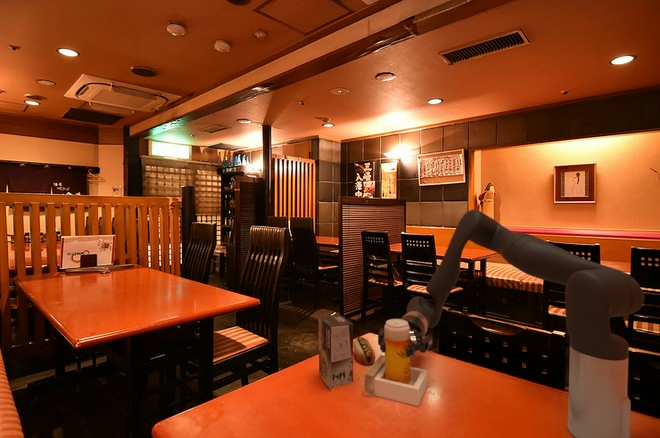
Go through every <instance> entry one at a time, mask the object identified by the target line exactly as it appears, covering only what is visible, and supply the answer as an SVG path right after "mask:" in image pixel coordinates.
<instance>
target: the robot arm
mask: <svg viewBox="0 0 660 438" xmlns="http://www.w3.org/2000/svg"><path fill="white" fill-rule="evenodd" d="M469 241H470V242H472V243H473V244H475V245H477V246H479V247H483V248H485V249H488V250H489V251H492V252H495V253H497V254H499V255H500V256H501V257H502V259H504V261H506V262H507V263H508V264H509V265H511V266H512V267H514V268H516V269H517V270H519V271H521V273H524V274H526V275H528V276H530V277H532V278H537V279H539V280H542V281H543V280H544V281H547V282H550V283H555V284H559V285H563V286H565V291H564V296H565V297H564V299H565V300H564V302H565V307H564V308H565V326H566V331H567V333H568V336H569V341H570V342H569V364H568V365H569V372H568V375H569V376H568V401H567V403H568V404H567V405H568V407H567V411H568V412H567V429H568V431H569V433H570V434H571V435H572V436H573V437H574V438H630V436H631V435H630V433H631V405H632V404H631V399H630V398H629V397H628V383H629V382H628V381H629V357H630V356H629V353H630V348H629V347H630V346H629V343H628V341H627V340H626V339H625V338H623V337H622V336H620V335H617V334H615V333H612V331H611V321H610V320H611V318H617V317H624V316H629V315H632V314H634V313H637V312H638V311H639V310H640V309H641V308H642V307H643V306H644V305H643V304H644V302H645V293H644V291H643V288H642V287H641V286H640V284H639V283H638V281H637V280H636V279H635V278H634V277H632V276H631V275H630V274H628V273H626V272H624V271H622V270H621V269H620V270H619V269H617V268H614V267H610V266H608V265H604V264H601V263H598V262H594V261H592V260H589V259H585V258H584V257H580V256H578V255H575V254H574V253H572V252H570V251H568V250H565V249H563V248H561V247H558V246H556V245H554V244H552V243H549V242H548V241H546V240H544V239H542V238H539V237H537V236H535V235H532V234H529V233H526V232H521V231H520V232H519V231H518V232H514V231H512V230H510V229H508V228H507V227H505V226H503V225H502V224H501V223H499V222H498V221H497V220H495V219H493V218H492V217H490V216H489V215H487V214H485V213H484V212H482V211H480V210H479V209H475V208H474V209H470V210H468V211H467V212H465V213H464V214H463V216H462V217H461V218H460V220H459V221H458V223H457V225H456V227H455V230H454V232H453V234H452V237H451V238H450V240H449V243H448V246H447V249H446V251H445V254H444V256H443V258H442V260H441V262H440V263H439V265H438V268H437V269H436V271H435V272H434V274H433V275H432V277H431V278H430V280H429V281H428V283H427V285H426V286H425V291H426V293H428V294H429V296H431V298H432V299H433V300H434V304H432V303H431V302H430V301H428V300H427V299H425V298H424V297H422V296H419V295H418V296H415V297H414V296H413V297H412V298H411V299H410V300H409V302H408V304H407V306H406V313H405V314H404V315H403V316H402V317H401V318H400V319H402V320H405V321H407V322H408V325H409V327H410V345H409V346H408V347H407V357H410V358H411V357H412V356H414V355H415V354H416V353H418V351H419V352H420V353H422V354H423V353H426V352H427V351H428V350H429V349H430V348H432V346H433V336H432V335H431V334H428V335H426V334H427V332H428V329H431V328H435V327H436V326H438V323H439V321H440V319H441V316H442V313H443V308H444V305H445V304H446V303H445V302H446V301H447V299H448V297H449V295H451V292H452V291H453V289H454V288H455V286H456V284H457V283H458V280H459V279H460V274H461V273H460V272H461V261H462V255H463V251H464V248H465V247H466V245H467V243H468V242H469ZM379 329H380V330H379V332H378V335H377V346H379V350H380V351H381V353H382V354H383V353H384V354H385V337H384V327H380V328H379ZM425 335H426V336H425Z"/></svg>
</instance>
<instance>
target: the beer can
mask: <svg viewBox="0 0 660 438" xmlns="http://www.w3.org/2000/svg"><path fill="white" fill-rule="evenodd" d="M383 328H384V337H385V353H384V356H385V379H386V380H390V381H395V382H399V383H404V384H409V383H410V367H411V357H407V347H408V346H409V345H410V327H409V325H408V322H407V321H405V320H402V319H401V318H391V319H388V320H386V322H385V324H384V326H383Z"/></svg>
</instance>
